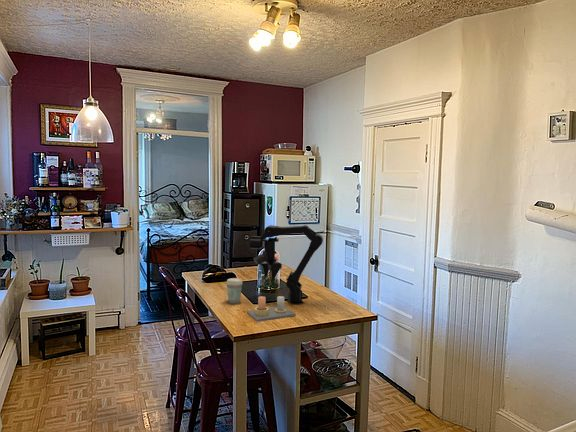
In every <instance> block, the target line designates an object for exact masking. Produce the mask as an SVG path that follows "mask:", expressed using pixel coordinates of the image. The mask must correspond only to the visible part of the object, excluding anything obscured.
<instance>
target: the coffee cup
mask: <svg viewBox="0 0 576 432" xmlns="http://www.w3.org/2000/svg"><path fill="white" fill-rule="evenodd" d="M225 284H226V290H227V299H228V303H229V304H232V305H236V304H240V302H241V296H242V290H243V289H242V285H243V280H242V278H238V277H232V278H231V277H230V278H228V279H226V282H225Z"/></svg>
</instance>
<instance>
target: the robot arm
mask: <svg viewBox="0 0 576 432" xmlns="http://www.w3.org/2000/svg"><path fill="white" fill-rule="evenodd" d="M296 234H299V235H300V234H304V235H305V236H306V238H307V239H309V241H310V242H309V246H308V248H307V250H306V252H305V253H304V255H303V257H302V259H301V261H300V262H299V264H298V265H297V266H296V268H295V270H294V271H290V273H289V275H288V276H287V277H286V279H285V280H286V282H285V285H286V287H287V288H288V289H289V292H288V293H287V294H288V299H287V302H288V303H290V304H292V305H296V304H297V305H298V304H304V301H303V290H302V286H303V285H302V284H301V282H300V279H301V278H300V277H301V275H302V274H303V272H304V270H305V268H306V267H307V265H308V263H309V262H310V260H311V258H312V257H313V255H314V254H315V252H316V251H317V250H318V249H319V248H320V247H321V245H323V242H324V237H323V235H321V234H320V233H317V232H315V230H313V229H311V228H310V227H309V225H307V224H304V225H293V226H291V225H289V226H278V225H272V224H271V225H267V226H266V227H265V228H264V230H263V233H262V235H261V236H258V235H257V236H255V235H251V236H250V241H249V249H253V250H261V249H262V248H264V250H263V251H262V252H261V254H259V255H256V256H254V257H253V261H254V263H255V264H256V265H257V266H261V268H262V271H263V276H264V277H268V273H269V271H270V278H271V281H274V280H275V279H276V276H277V274H278V273H279V271H280V270H281V269H282V268H283V264H282V263H281V262H279V261H277V259H276V255H277V251H276V243H278V242H279V241H280V238H278V236H281V235H296ZM267 238H268V239H267Z"/></svg>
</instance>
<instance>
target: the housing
mask: <svg viewBox="0 0 576 432" xmlns="http://www.w3.org/2000/svg"><path fill="white" fill-rule="evenodd" d="M276 303H277V304H276V306H273V307H268V306H265V310H258V306H256V307H254V309H251V310H246V314H248V315H249V317H251V318H252V319H253V320H255V322H257V323H258V322H263V321H271V320H275V319H276V320H277V319H284V318H289V317H296V315H297V314H296V313H295V312H293V310H291V309H289V308H288V307H286V306H285V296H282V295H281V296H280V295H279V296H277V297H276Z"/></svg>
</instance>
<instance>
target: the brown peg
mask: <svg viewBox="0 0 576 432" xmlns="http://www.w3.org/2000/svg"><path fill="white" fill-rule="evenodd" d="M257 299H258V300H257V307H258V310H265V307H266V305H267V304H266V299H267V298H266V296H262V295H261V296H258V297H257Z"/></svg>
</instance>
